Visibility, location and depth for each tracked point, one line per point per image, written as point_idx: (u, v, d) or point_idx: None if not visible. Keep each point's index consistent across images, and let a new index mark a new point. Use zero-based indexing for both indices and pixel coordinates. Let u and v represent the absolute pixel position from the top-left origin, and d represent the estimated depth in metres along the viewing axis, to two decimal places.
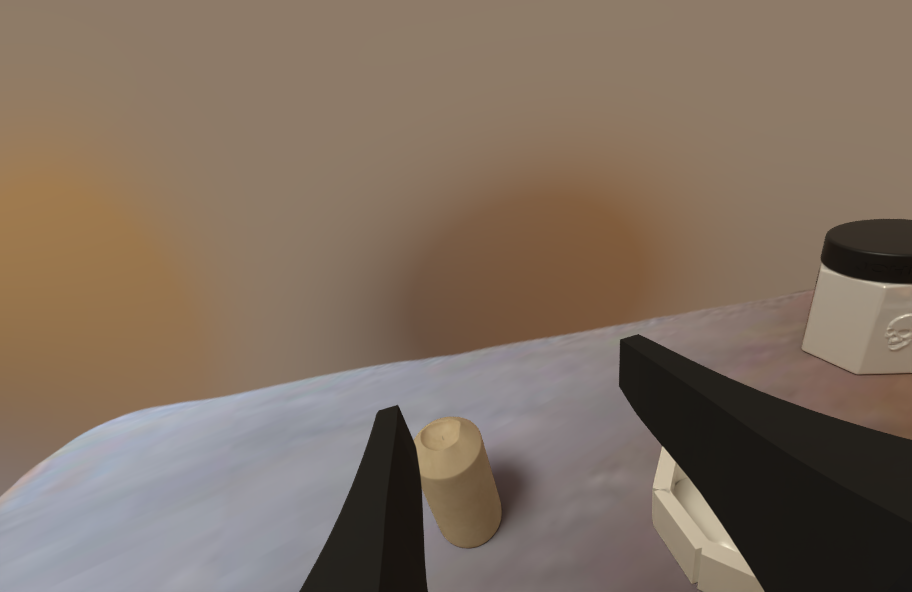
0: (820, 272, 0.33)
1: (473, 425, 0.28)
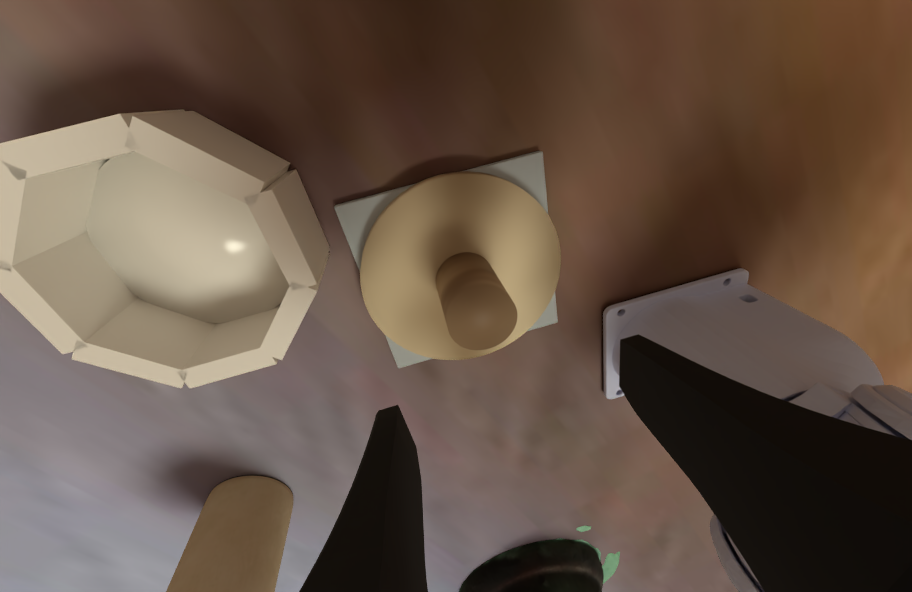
0: None
1: None
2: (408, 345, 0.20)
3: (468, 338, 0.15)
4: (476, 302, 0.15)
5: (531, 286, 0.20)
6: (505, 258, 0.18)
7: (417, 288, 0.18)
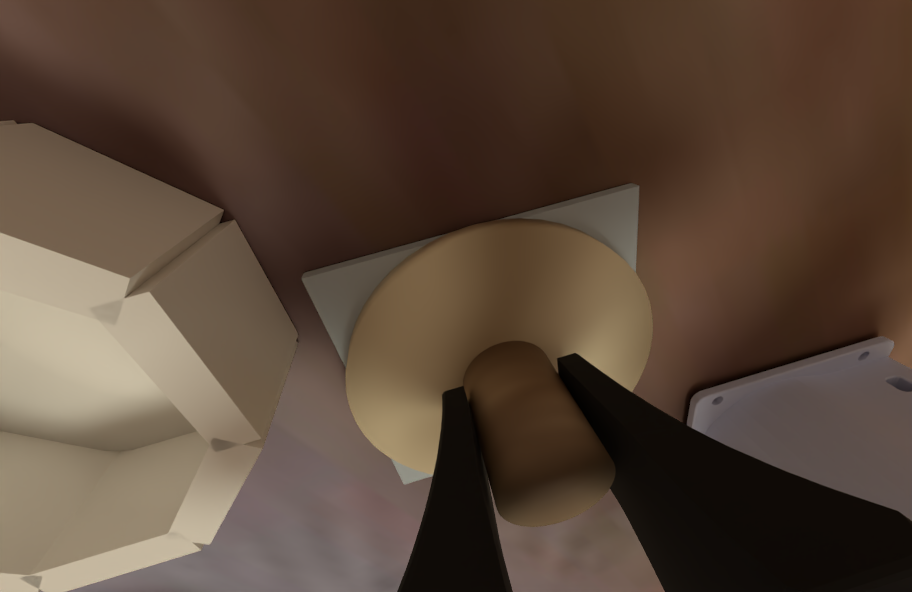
0: None
1: None
2: (419, 465, 0.13)
3: (529, 513, 0.09)
4: (549, 465, 0.08)
5: None
6: (570, 346, 0.12)
7: (435, 393, 0.12)
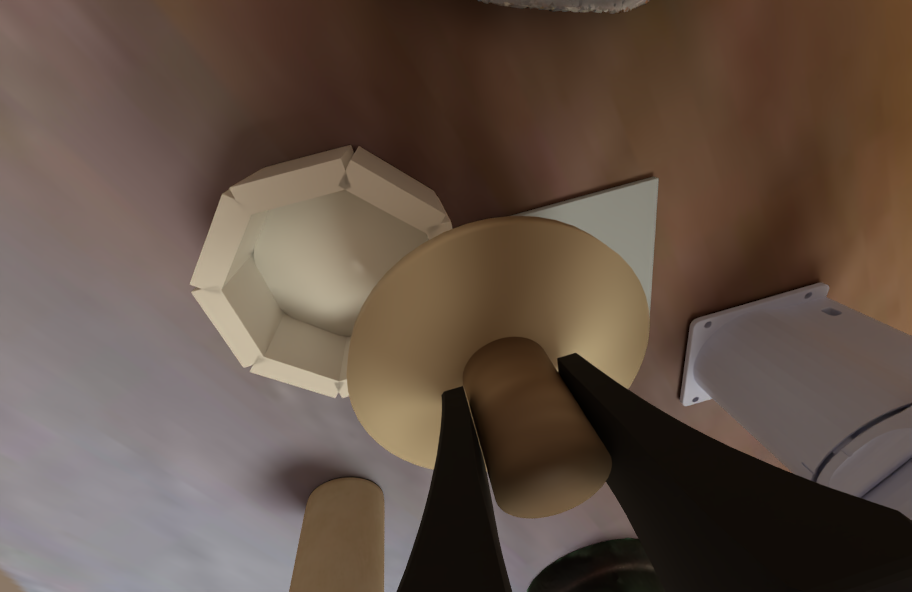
0: None
1: None
2: (423, 461, 0.14)
3: (528, 505, 0.09)
4: (545, 458, 0.08)
5: None
6: (567, 340, 0.12)
7: (436, 390, 0.12)
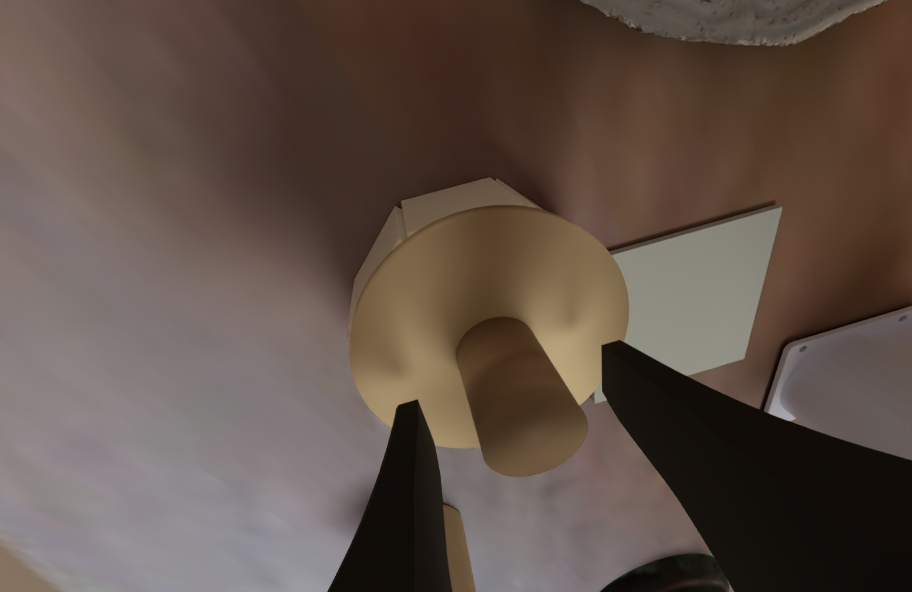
0: None
1: None
2: None
3: (513, 463, 0.10)
4: (525, 418, 0.09)
5: (588, 352, 0.14)
6: (552, 320, 0.13)
7: (432, 368, 0.13)
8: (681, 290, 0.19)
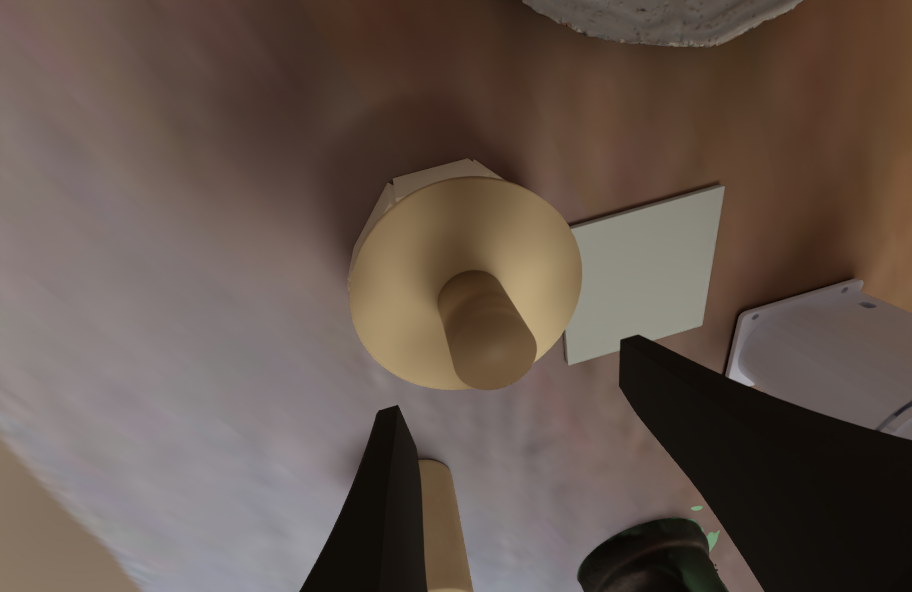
0: None
1: None
2: (411, 377, 0.18)
3: (479, 377, 0.13)
4: (486, 336, 0.12)
5: (549, 303, 0.17)
6: (517, 274, 0.16)
7: (417, 315, 0.16)
8: (639, 261, 0.22)
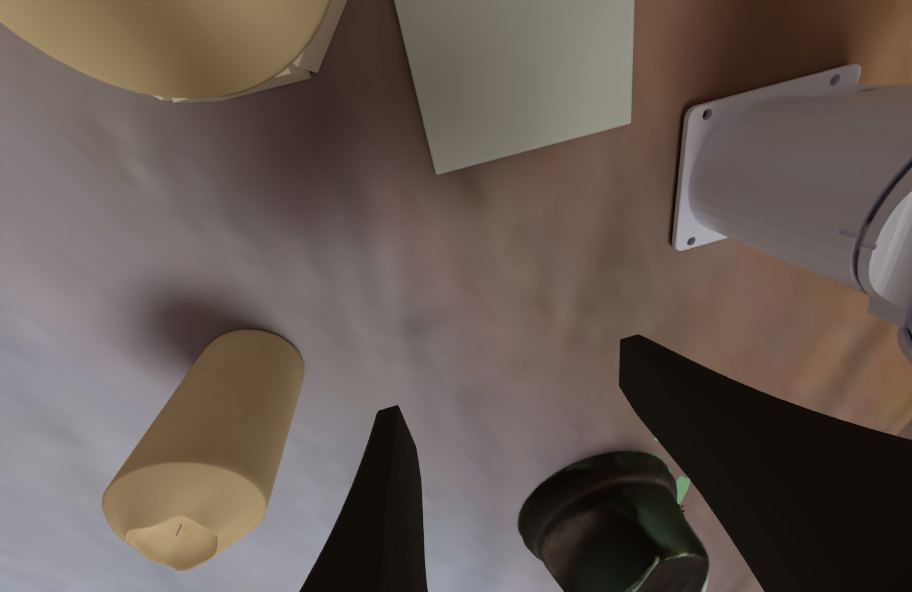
0: None
1: (121, 485, 0.13)
2: (55, 47, 0.10)
3: None
4: None
5: None
6: None
7: None
8: None
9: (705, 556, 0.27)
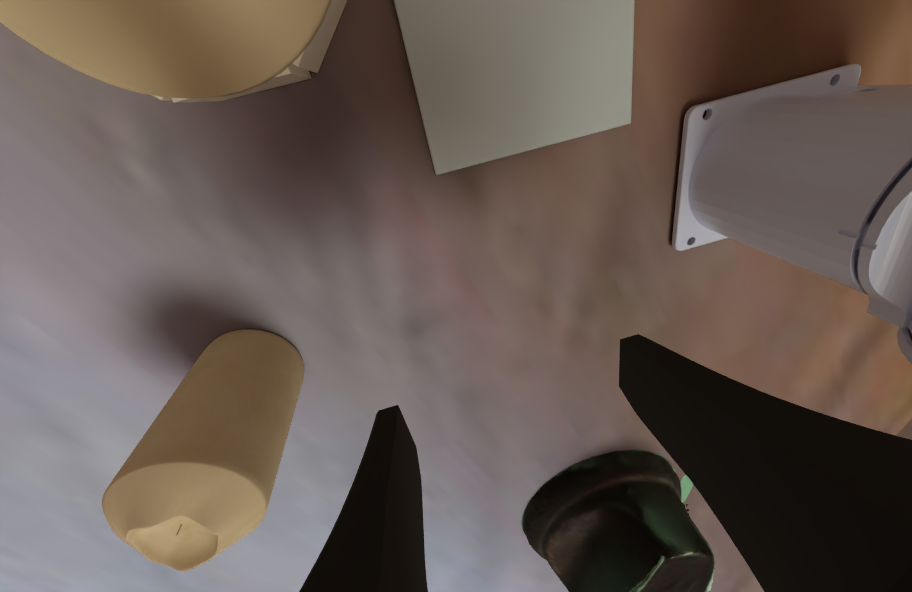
0: None
1: (122, 484, 0.13)
2: (55, 47, 0.10)
3: None
4: None
5: None
6: None
7: None
8: None
9: (710, 555, 0.27)
